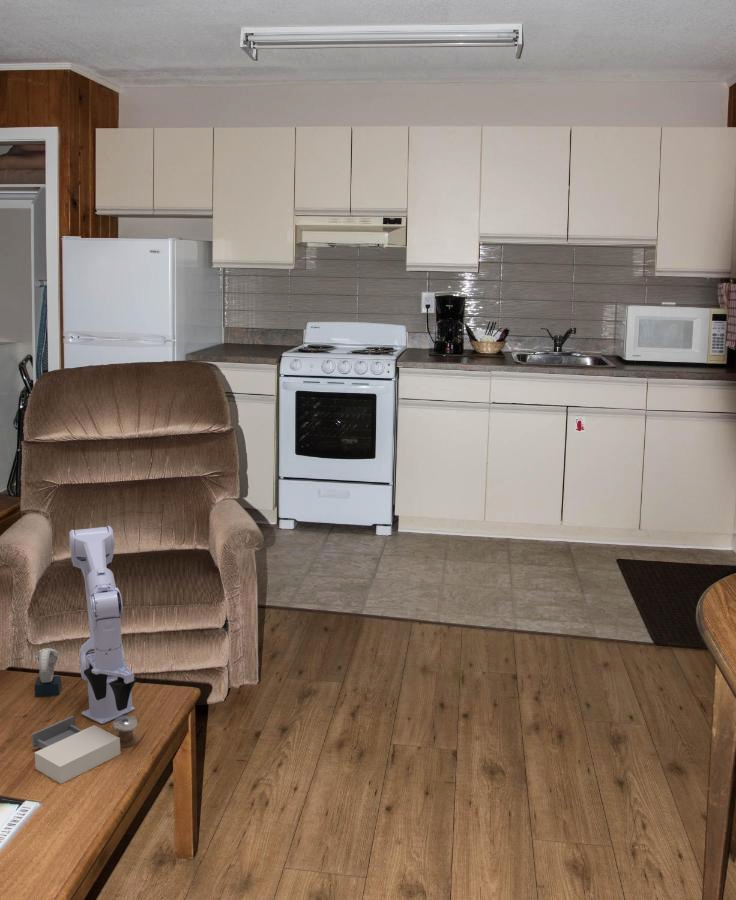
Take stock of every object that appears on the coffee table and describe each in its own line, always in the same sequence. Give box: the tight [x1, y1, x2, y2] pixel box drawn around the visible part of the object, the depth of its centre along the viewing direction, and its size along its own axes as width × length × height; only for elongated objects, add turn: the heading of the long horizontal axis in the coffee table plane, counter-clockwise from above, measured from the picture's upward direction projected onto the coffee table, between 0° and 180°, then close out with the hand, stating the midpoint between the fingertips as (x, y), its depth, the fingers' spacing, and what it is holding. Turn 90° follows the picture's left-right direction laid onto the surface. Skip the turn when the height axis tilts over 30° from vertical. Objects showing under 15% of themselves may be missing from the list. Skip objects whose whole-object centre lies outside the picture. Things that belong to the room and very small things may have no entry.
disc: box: [112, 714, 138, 733], centre depth 209 cm, size 5×5×2 cm
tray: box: [30, 715, 83, 750], centre depth 207 cm, size 9×10×3 cm
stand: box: [116, 730, 140, 749], centre depth 210 cm, size 6×6×4 cm
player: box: [34, 725, 121, 785], centre depth 201 cm, size 9×15×4 cm, turn 142°
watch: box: [34, 647, 62, 698], centre depth 232 cm, size 6×8×11 cm
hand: (111, 703), depth 207 cm, fingers open, 7 cm apart
